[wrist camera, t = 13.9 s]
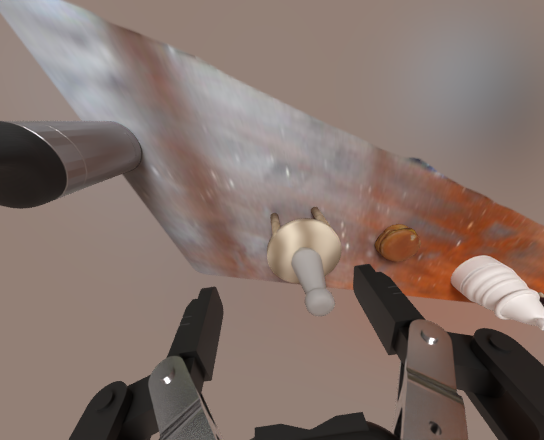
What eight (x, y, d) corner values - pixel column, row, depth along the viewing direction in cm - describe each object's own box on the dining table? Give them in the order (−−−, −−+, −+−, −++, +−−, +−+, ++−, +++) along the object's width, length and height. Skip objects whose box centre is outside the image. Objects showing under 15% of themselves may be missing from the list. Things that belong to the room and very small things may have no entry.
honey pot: (441, 280, 60) (509, 338, 44) (479, 248, 56) (569, 300, 40) (467, 294, 64) (538, 353, 48) (504, 266, 59) (596, 320, 43)
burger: (370, 253, 54) (379, 264, 50) (380, 223, 50) (392, 232, 46) (404, 254, 55) (416, 265, 51) (417, 224, 51) (431, 233, 47)
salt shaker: (322, 247, 40) (349, 298, 28) (311, 269, 42) (332, 325, 31) (295, 240, 39) (311, 291, 27) (285, 263, 41) (296, 319, 29)
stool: (270, 259, 53) (272, 288, 44) (261, 207, 46) (261, 228, 37) (326, 251, 53) (340, 277, 44) (325, 197, 46) (342, 216, 37)
